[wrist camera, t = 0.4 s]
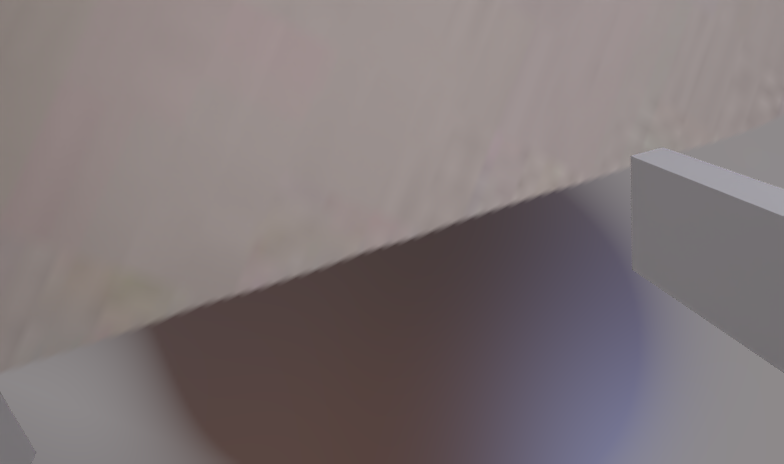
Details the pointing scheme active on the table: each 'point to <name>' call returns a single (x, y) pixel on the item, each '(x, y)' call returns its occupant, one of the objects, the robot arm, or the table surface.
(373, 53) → the table surface
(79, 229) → the table surface
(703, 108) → the table surface
